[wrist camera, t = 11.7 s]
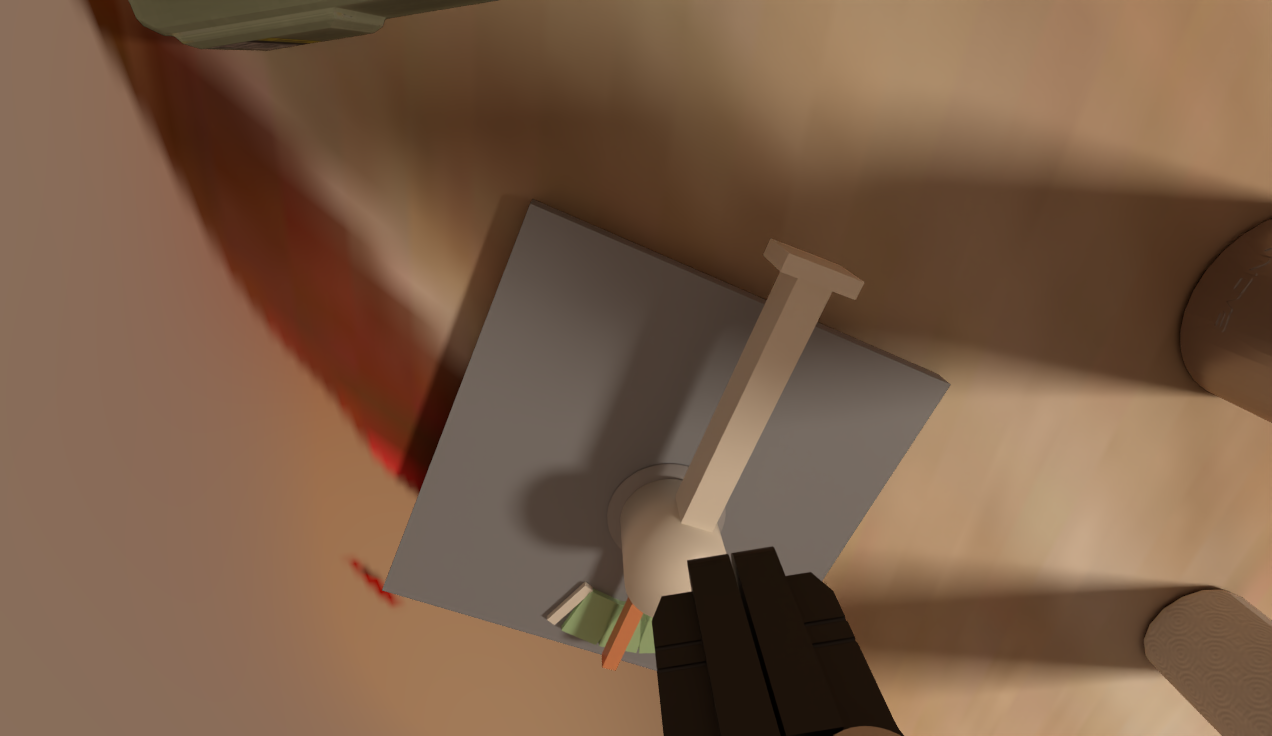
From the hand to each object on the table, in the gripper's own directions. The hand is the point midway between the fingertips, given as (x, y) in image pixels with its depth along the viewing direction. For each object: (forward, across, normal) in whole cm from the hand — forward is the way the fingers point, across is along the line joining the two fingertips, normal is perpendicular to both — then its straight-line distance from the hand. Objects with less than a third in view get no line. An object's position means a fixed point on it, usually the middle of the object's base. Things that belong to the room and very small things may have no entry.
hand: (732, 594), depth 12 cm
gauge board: (+19, +1, +9) cm, 21 cm away
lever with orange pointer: (+17, -1, +8) cm, 19 cm away
